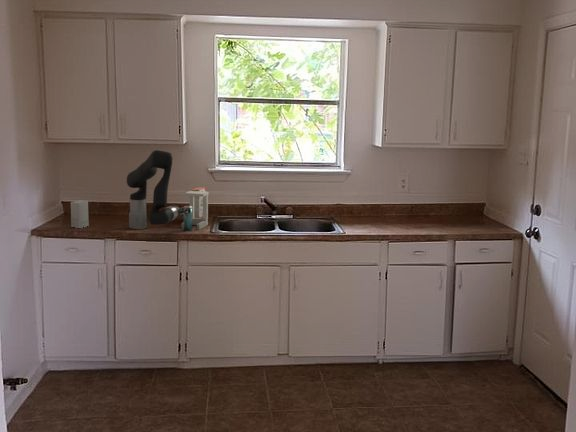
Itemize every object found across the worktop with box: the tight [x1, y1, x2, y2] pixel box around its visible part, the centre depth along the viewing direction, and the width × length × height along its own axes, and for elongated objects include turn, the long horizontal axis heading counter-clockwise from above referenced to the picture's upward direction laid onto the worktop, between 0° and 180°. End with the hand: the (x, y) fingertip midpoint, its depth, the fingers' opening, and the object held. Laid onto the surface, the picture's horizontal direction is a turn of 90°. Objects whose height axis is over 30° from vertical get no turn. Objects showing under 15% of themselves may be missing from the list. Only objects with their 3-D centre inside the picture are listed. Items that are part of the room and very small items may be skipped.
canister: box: [183, 205, 193, 232], centre depth 344 cm, size 5×5×14 cm
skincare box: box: [70, 199, 90, 229], centre depth 342 cm, size 8×7×16 cm
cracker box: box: [190, 186, 208, 219], centre depth 376 cm, size 14×6×21 cm, turn 168°
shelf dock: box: [181, 190, 210, 230], centre depth 355 cm, size 16×12×21 cm
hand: (181, 208), depth 332 cm, fingers open, 8 cm apart
